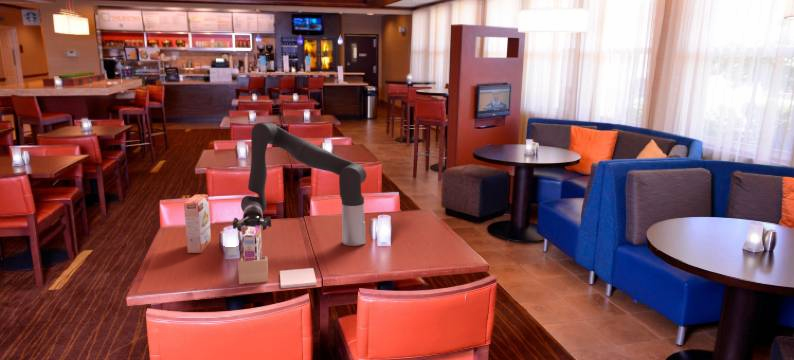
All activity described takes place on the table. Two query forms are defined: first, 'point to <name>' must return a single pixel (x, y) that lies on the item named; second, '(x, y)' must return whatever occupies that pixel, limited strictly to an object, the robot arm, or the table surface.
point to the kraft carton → (253, 271)
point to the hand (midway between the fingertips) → (251, 228)
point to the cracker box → (197, 223)
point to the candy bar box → (252, 244)
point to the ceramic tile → (297, 278)
